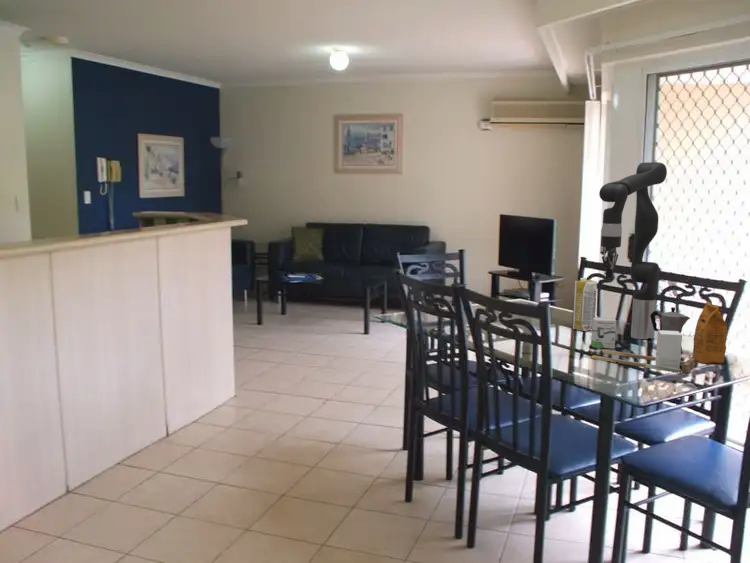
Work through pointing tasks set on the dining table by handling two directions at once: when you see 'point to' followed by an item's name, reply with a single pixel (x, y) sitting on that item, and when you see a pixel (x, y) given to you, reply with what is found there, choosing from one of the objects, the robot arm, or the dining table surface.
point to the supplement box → (668, 349)
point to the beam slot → (685, 365)
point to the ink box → (603, 332)
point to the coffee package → (710, 336)
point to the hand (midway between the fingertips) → (609, 278)
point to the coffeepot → (670, 321)
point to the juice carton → (584, 304)
